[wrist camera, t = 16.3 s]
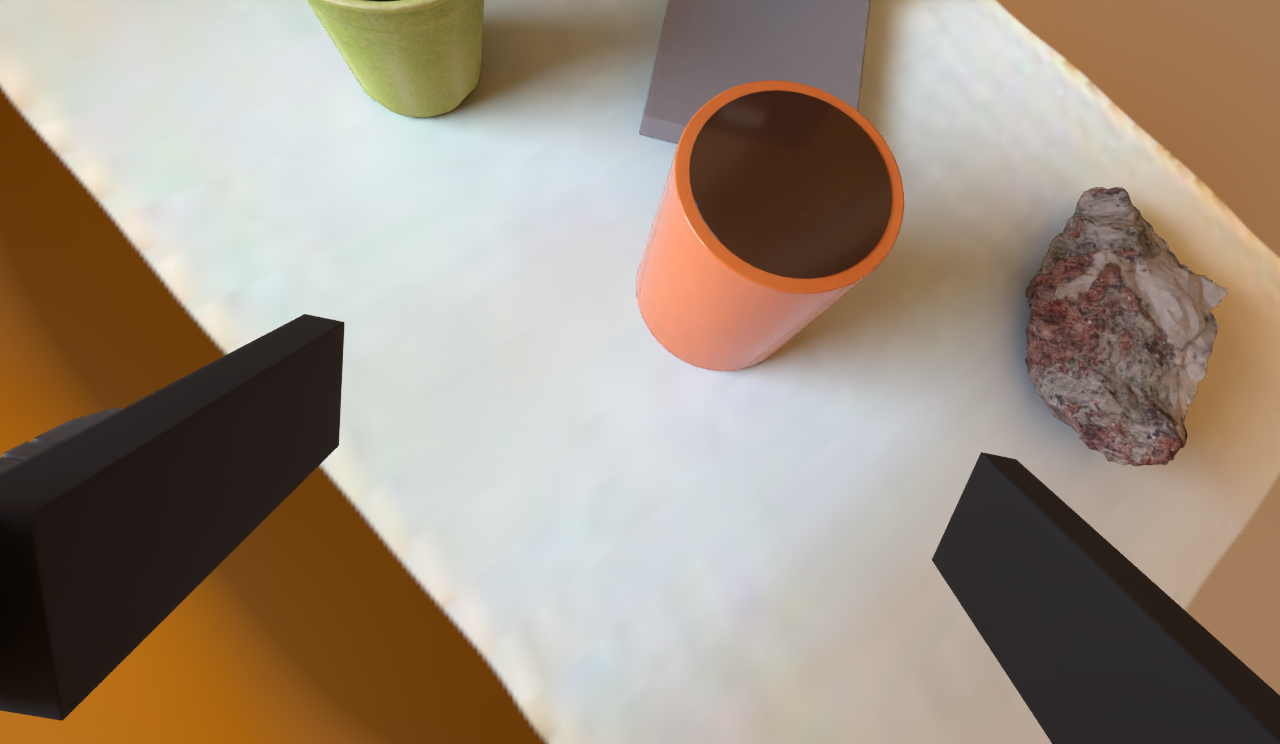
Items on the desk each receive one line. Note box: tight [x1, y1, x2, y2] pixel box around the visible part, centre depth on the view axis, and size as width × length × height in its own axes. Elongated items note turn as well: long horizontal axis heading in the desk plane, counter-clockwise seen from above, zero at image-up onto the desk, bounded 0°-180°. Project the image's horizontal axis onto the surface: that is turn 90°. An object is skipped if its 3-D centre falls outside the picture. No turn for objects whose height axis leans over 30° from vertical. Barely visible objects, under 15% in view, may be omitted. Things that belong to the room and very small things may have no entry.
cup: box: [636, 80, 904, 371], centre depth 26 cm, size 8×8×10 cm
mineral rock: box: [1025, 187, 1228, 466], centre depth 31 cm, size 15×8×4 cm, turn 151°
